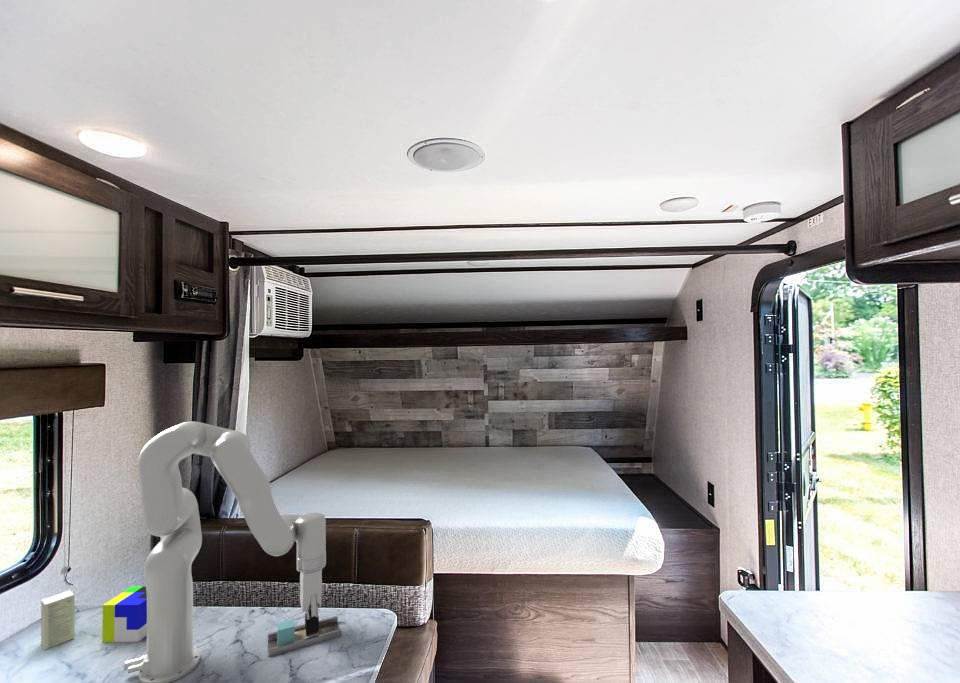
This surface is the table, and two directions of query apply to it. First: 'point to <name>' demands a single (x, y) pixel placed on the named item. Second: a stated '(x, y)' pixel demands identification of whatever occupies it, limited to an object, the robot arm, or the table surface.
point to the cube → (285, 632)
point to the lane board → (307, 641)
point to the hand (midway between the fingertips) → (311, 629)
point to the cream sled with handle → (303, 634)
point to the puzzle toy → (126, 616)
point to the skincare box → (57, 619)
